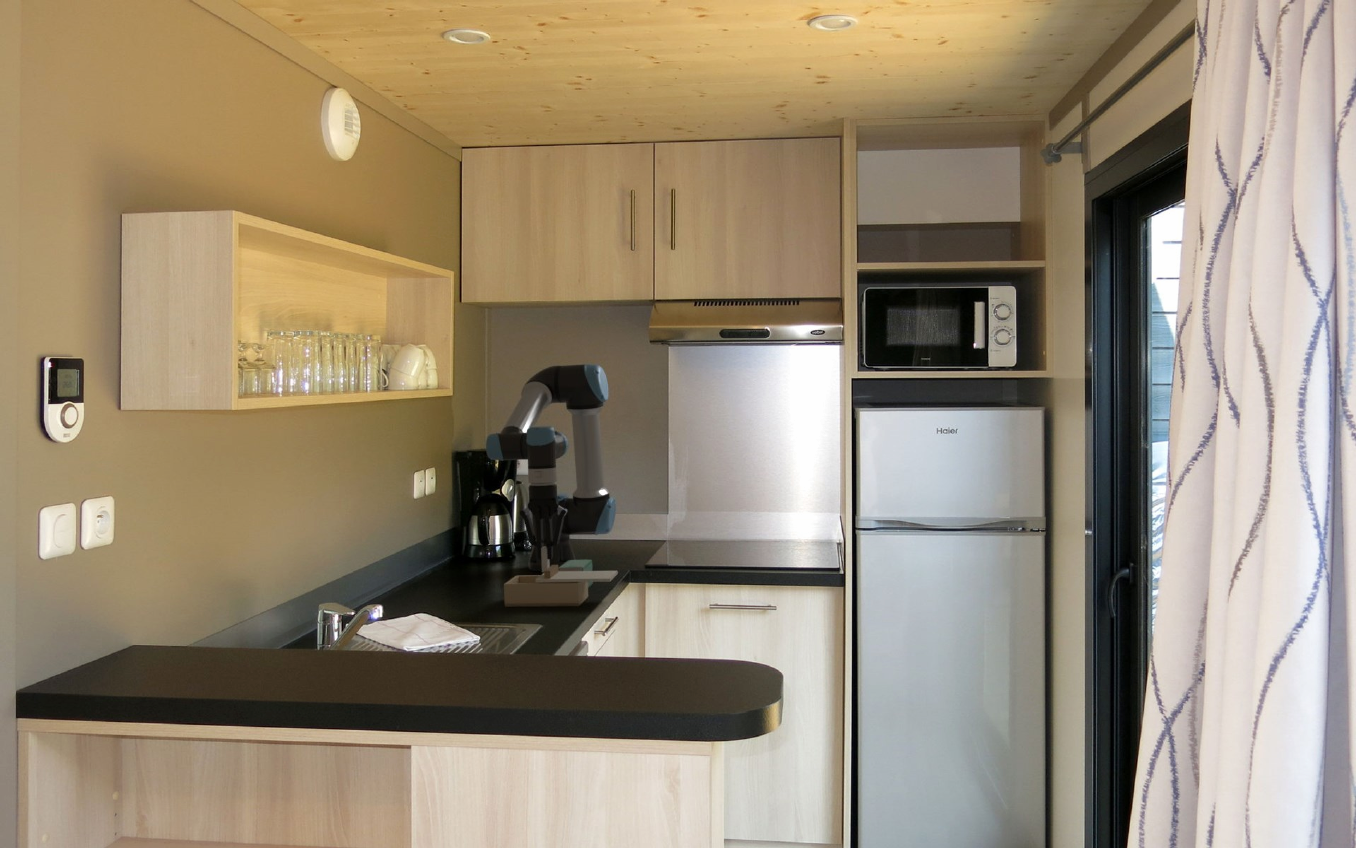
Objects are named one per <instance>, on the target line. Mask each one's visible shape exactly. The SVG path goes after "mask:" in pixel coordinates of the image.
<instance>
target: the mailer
mask: <svg viewBox="0 0 1356 848" xmlns="http://www.w3.org/2000/svg"><path fill="white" fill-rule="evenodd" d="M541 575H542V574H540V575H539V574H538V575H537V574H536V575H534V574H533V575H526V574H525V575H515V576H514V577H512V578H510V579H509V580H508V581H507V582H504V584H503V591H504V592H503V593H504V596H503V597H504V607H510V608H511V607H517V608H518V607H579V606H581V605H582V604H583V603H584V601H585V600H586V599H588V597H589V588H588V582H536V581H535V579H537V578H538V577H539V576H541Z"/></svg>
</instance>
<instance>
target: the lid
mask: <svg viewBox="0 0 1356 848" xmlns="http://www.w3.org/2000/svg"><path fill="white" fill-rule="evenodd" d="M618 573H619V571H618V570H592V571H558V565H552V566H550V567H549V568H548V569H546V570H545V571H544V572H542V574H540V575H541V576H539V577H538V578H537V579H535V581H536V582H593V583H594V582H595V583H597V582H601V583H604V582H608V583H609V582H611V581H612V580H614V578H615V577H616V576H617V575H618Z"/></svg>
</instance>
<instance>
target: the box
mask: <svg viewBox="0 0 1356 848" xmlns="http://www.w3.org/2000/svg"><path fill="white" fill-rule="evenodd" d="M558 571H593V560H592V559H576V560H569V561H567V562H566V563H564V564H563V565H562V566H560V567H559V568H558ZM593 584H594V582H588V589H589V588H590V587H591V586H592V585H593Z"/></svg>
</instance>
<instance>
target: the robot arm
mask: <svg viewBox="0 0 1356 848" xmlns="http://www.w3.org/2000/svg"><path fill="white" fill-rule="evenodd" d="M607 379H608V378H607V376H606V372H605V370H604V368H603V367H602V366H600V365H599V364H587V363H585V364H570V365H569V364H568V365H567V364H566V365H552V366H548V367H546V368H543V369H541V370H540V371H538V372H536V373H535V374H534V375H533V376H531V377H530V378H529V379H528V380H527V381H526V383H524V385H523V387H522V389H521V393H520V394H521V395H520V396H521V397H520V399H519V401H518V402H517V404H516V405H515V407H514V409H513V411H512V412H511V414H510V416H509V417H508V419H507V421H506V423H505V425H504V427H503V428H502V429H501V432H500V433H498V432H496V433H491V434H488V436H487V438H486V440H485V441H486V442H485V451H486V455H487V457H488V459H490V460H492V461H501V462H503V461H518V460H521V461H522V460H525V461H526V460H527V474H528V475H527V477H528V478H527V479H528V483H529V486H528V503H527V506H526V507H525V508H524V509H522V510H520V511H519V515H520V516H521V518H522V519H523V522H524V525H525V529H526V533H527V538H528V540H529V544H530V545H531V546H532V548H531V552H530V555H529V559H528V569H529V570H530V571H534V572H541V573H544V571H545V570H546V569H548V568H549V567H550V566H552V565H558V568H559V567H560V566H562V565H563V564H564V563H566V562H567V561H569V560H577V559H576V556H575V553H574V551H573V550H574V549H573V547H572V545H571V541H570V539H571V537H570V535H571V536H575V535H577V536H580V535H581V536H582V535H587V536H588V535H590V536H591V535H595V536H598V535H607V534H609V533H610V532H611V531H612V530H613V527H614V524H615V520H616V514H617V513H616V512H617V503H616V499H615V497H612V496H610V491H609V490H608V488H606V487H605V481H604V467H603V466H604V465H603V451H602V435H601V433H602V432H601V422H600V411H602V409H604V403H605V402H608V400H609V395H610V394H609V391H610V390H609V383H608V380H607ZM556 403H557V404H559V403H560V404H564V403H565V406H566V411H568V412H569V413H570V414H571V420H572V436H573V437H572V438H573V448H574V451H573V452H574V466H575V477H576V480H575V481H576V489H575V490H574V491H573V493H572V497H569V495H568V493H558V485H557V484H556V482H557V481H558V480H557V479H558V478H557V462H556V461H557V459H559V458H562V457H563V456H564V455H565V454H567V452H568V449H569V439H568V438H567V436H566V435H565V434H564V433H562V432H560V431H556V430H555V428H554V426H550V425H549V426H548V425H545V426H543V425H542V426H536V425H537V422H538V420H539V418H540V416H541V415H542V413H543V412H544V410H545V409H547V408H548V407H550V405H551V404H556ZM530 515H531V516H530ZM531 517H532V518H531Z"/></svg>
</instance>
